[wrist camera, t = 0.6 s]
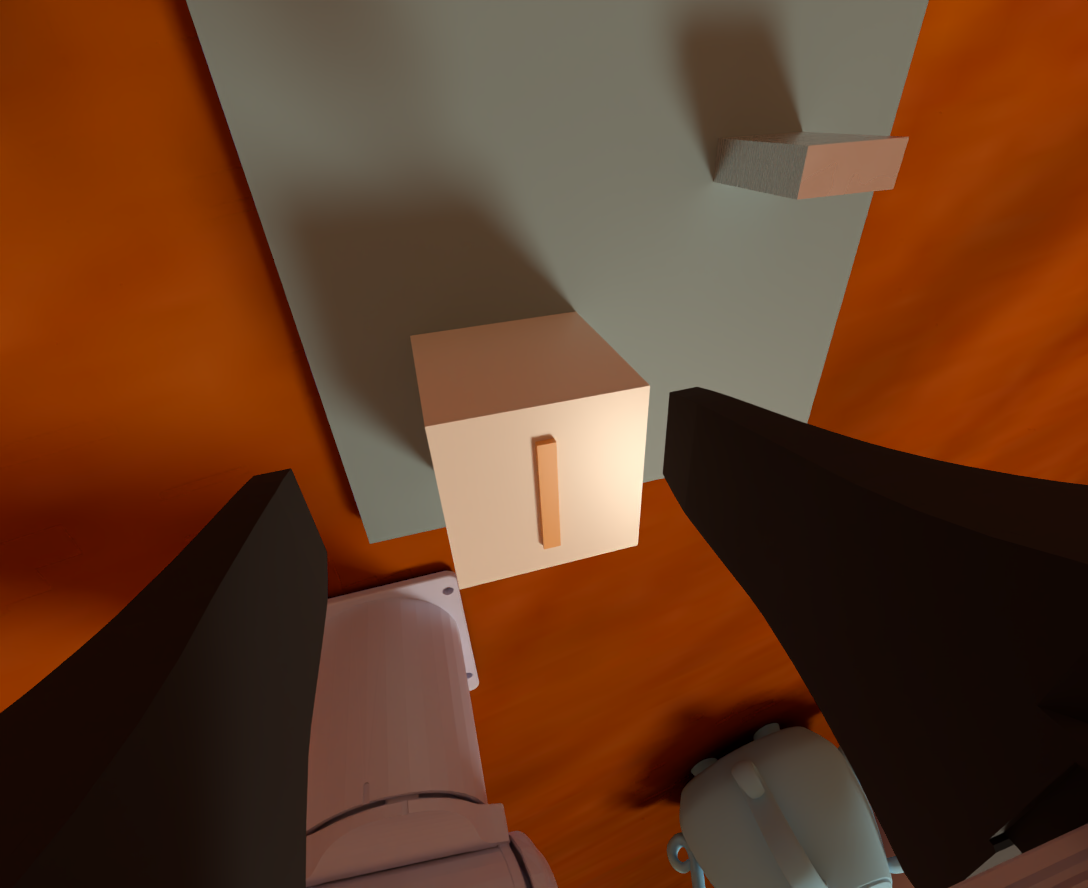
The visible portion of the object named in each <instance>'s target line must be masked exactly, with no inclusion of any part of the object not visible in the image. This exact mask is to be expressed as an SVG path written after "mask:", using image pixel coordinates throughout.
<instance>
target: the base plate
mask: <svg viewBox="0 0 1088 888" xmlns="http://www.w3.org/2000/svg"><path fill="white" fill-rule="evenodd" d="M928 1H929V0H186V2H187V5H188V8H189V11H190V14H191V17H192V20H193V23H194V26H195V28H196V31H197V34H198V37H199V40H200V43H201V46H202V49H203V52H204V55H205V58H206V61H207V64H208V67H209V70H210V73H211V76H212V79H213V82H214V85H215V88H216V90H217V93H218V96H219V99H220V102H221V105H222V108H223V111H224V114H225V117H226V120H227V123H228V126H229V129H230V132H231V135H232V138H233V141H234V144H235V147H236V150H237V152H238V155H239V158H240V161H241V164H242V167H243V170H244V173H245V176H246V179H247V182H248V185H249V188H250V191H251V194H252V197H253V200H254V203H255V206H256V209H257V212H258V214H259V217H260V220H261V223H262V226H263V229H264V232H265V235H266V238H267V241H268V244H269V247H270V250H271V253H272V256H273V259H274V262H275V265H276V268H277V271H278V274H279V276H280V279H281V282H282V285H283V288H284V291H285V294H286V297H287V300H288V303H289V306H290V309H291V312H292V315H293V318H294V321H295V324H296V327H297V330H298V333H299V336H300V338H301V341H302V344H303V347H304V350H305V353H306V356H307V359H308V362H309V365H310V368H311V371H312V374H313V377H314V380H315V383H316V386H317V389H318V392H319V395H320V398H321V400H322V403H323V406H324V409H325V412H326V415H327V418H328V421H329V424H330V427H331V430H332V433H333V436H334V439H335V442H336V445H337V448H338V451H339V454H340V457H341V460H342V462H343V465H344V468H345V471H346V474H347V477H348V480H349V483H350V486H351V489H352V492H353V495H354V498H355V501H356V504H357V507H358V510H359V513H360V516H361V519H362V522H363V524H364V527H365V530H366V533H367V536H368V539H369V542H370V544H371V543H375V542H380V541H384V540H389V539H393V538H398V537H402V536H407V535H411V534H416V533H420V532H425V531H429V530H434V529H438V528H442V527H446V523H445V519H444V514H443V509H442V505H441V500H440V495H439V491H438V486H437V481H436V477H435V472H434V467H433V463H432V458H431V453H430V449H429V444H428V440H427V435H426V430H425V425H424V419H423V413H422V407H421V400H420V394H419V388H418V382H417V376H416V369H415V363H414V357H413V351H412V345H411V338H410V336H412V335H419V334H426V333H432V332H439V331H446V330H453V329H460V328H466V327H473V326H480V325H487V324H494V323H500V322H507V321H514V320H521V319H528V318H534V317H541V316H548V315H555V314H562V313H569V312H575V311H576V312H577V313H578V314H579V315H580V316H581V317H582V318H583V319H584V320H585V321H586V322H587V323H588V324H589V325H590V326H591V327H592V328H593V329H594V330H595V331H596V332H597V333H598V334H599V335H600V336H601V337H602V338H603V339H604V340H605V341H606V342H607V343H608V344H609V345H610V346H611V347H612V348H613V349H614V350H615V351H616V352H617V353H618V354H619V355H620V356H621V357H622V358H623V359H624V360H625V361H626V362H627V363H628V364H629V365H630V366H631V367H632V368H633V369H634V370H635V371H636V372H637V373H638V374H639V375H640V376H641V377H642V378H643V379H644V380H645V381H646V382H647V383H648V384H649V385H650V393H649V406H648V419H647V432H646V445H645V458H644V471H643V483H644V482H648V481H653V480H657V479H662V478H665V477H664V475H663V463H664V451H665V439H666V428H667V416H668V404H669V393H670V392H673V391H678V390H683V389H688V388H693V387H700V388H704V389H708V390H712V391H715V392H718V393H722V394H725V395H728V396H731V397H733V398H736V399H739V400H742V401H745V402H748V403H750V404H753V405H756V406H759V407H762V408H764V409H767V410H770V411H773V412H775V413H778V414H781V415H784V416H787V417H790V418H792V419H795V420H798V421H801V422H804V423H807V422H808V418H809V415H810V411H811V408H812V404H813V401H814V397H815V394H816V390H817V387H818V383H819V380H820V377H821V373H822V370H823V366H824V363H825V359H826V356H827V352H828V349H829V345H830V342H831V338H832V335H833V331H834V328H835V324H836V321H837V317H838V314H839V310H840V307H841V303H842V300H843V296H844V293H845V290H846V286H847V283H848V279H849V276H850V272H851V269H852V265H853V262H854V258H855V255H856V251H857V248H858V244H859V241H860V237H861V234H862V230H863V227H864V223H865V220H866V216H867V213H868V209H869V206H870V203H871V199H872V196H873V192H874V191H871V192H862V193H853V194H844V195H835V196H826V197H817V198H808V199H799V200H796V199H791V198H787V197H782V196H777V195H773V194H768V193H763V192H758V191H754V190H749V189H744V188H740V187H735V186H730V185H725V184H721V183H716V182H713V180H714V172H715V164H716V156H717V148H718V140H719V138H729V137H741V136H754V135H766V134H779V133H791V132H821V133H840V134H860V135H880V136H890V133H891V129H892V126H893V122H894V119H895V116H896V112H897V109H898V105H899V102H900V98H901V95H902V91H903V88H904V84H905V81H906V77H907V74H908V70H909V67H910V63H911V60H912V56H913V53H914V49H915V46H916V42H917V39H918V35H919V32H920V29H921V25H922V22H923V18H924V15H925V11H926V8H927V4H928Z"/></svg>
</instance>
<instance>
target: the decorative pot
mask: <svg viewBox="0 0 1088 888" xmlns="http://www.w3.org/2000/svg"><path fill="white" fill-rule="evenodd" d="M753 739H754V741H752V742H750V743H748V744H746V745H744V746H742V747H740V748H738V749H736V750H734V751H733V752H731V753H729V754H727V755H726V756H724V757H722V758H721V759H719V760H717V759H716V758H708V759H705V760H703V761H701V762H699V763H697V764H696V765H695V766H694V767H693V768H692V769H691V773H692V774H693V775H694V776H695V777H694V778H693V779H692V780H691V781H690V782H688V783H687V785H686V786H685V787H684V788H683V790H682V792H681V801H680V825H681V830H682V832H681V833H677V834H675V835H674V836H673V837H672V838H671V839H670V841H669V843H668V845H667V856H668V859H669V861H670V863H671V865H672V867H673V868H674V869H675V870H676V871H678V872H680V873H686V872H689V871H690V870H691V877H692V885H693V888H705V882H704V874H703V872H704V873H705V875H706V877H707V878H708V879H709V881H710V882H711V884H712V885H713V886H714V888H892V878H891V874H890V873H895V874H896V873H904V872H903V870H902V868H901V866H900V864H899V862H898V859H897V857H896V856H894V857H890V858H887V857H886V853H885V850H884V846H883V843H882V840H881V836H880V833H879V829H878V826H877V824H876V821H875V818H874V815H873V812H872V809H871V807H870V805H869V802H868V800H867V798H866V795H865V793H864V791H863V789H862V787H861V784H860V782H859V781H858V779H857V777H856V775H855V773H854V771H853V769H852V767H851V765H850V763H849V761H848V760H847V758H846V756H845V754H844V752H843V750H842V749H841V747H840V746H839V748H838V749H837V748H836V747H835V746H834V745H833V744H832V743H831V742H829V741H828V740H826V739H825V738H823V737H821V736H820V735H818V734H816V733H814V732H813V731H810V730H808V729H806V728H805V727H801V726H795V727H789V728H785V729H782V730H780V727H779V724H778V723H771V724H768V725H766V726H764V727H762V728H760V729H759V730H758V731H757V732H756V733H755V734H754V736H753ZM681 847H685V849H686V850H687V853H688V856H689V859H688V860H686V861H685V862H680V861H679V860H678V858H677V854H678V851H679V849H680V848H681Z"/></svg>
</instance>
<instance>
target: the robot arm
mask: <svg viewBox="0 0 1088 888" xmlns="http://www.w3.org/2000/svg"><path fill="white" fill-rule="evenodd" d="M663 475H664V477H665V479H666V481H667V483H668V485H669V486H670V488H671V490H672V492H673V494H674V496H675V497H676V499H677V501H678V502H679V504H680V506H681V507H682V509H683V511H684V512H685V514H686V515H687V516H688V518H689V519H690V520H691V522H692V523H693V524H694V526H695V527H696V528H697V530H698V531H699V532H700V534H701V535H702V536H703V537H704V539H705V540H706V541H707V543H708V544H709V545H710V547H711V548H712V549H713V550H714V552H715V553H716V554H717V555H718V557H719V558H720V559H721V561H722V562H723V563H724V564H725V566H726V567H727V568H728V570H729V571H730V572H731V573H732V575H733V576H734V577H735V578H736V580H737V581H738V582H739V584H740V585H741V586H742V587H743V589H744V590H745V591H746V593H747V594H748V595H749V596H750V598H751V599H752V601H753V602H754V603H755V605H756V606H757V608H758V609H759V610H760V612H761V613H762V615H763V616H764V618H765V619H766V621H767V622H768V624H769V626H770V627H771V629H772V630H773V632H774V634H775V635H776V637H777V638H778V640H779V641H780V643H781V645H782V646H783V648H784V649H785V651H786V653H787V654H788V656H789V657H790V659H791V661H792V662H793V664H794V666H795V667H796V669H797V671H798V673H799V674H800V676H801V678H802V679H803V681H804V683H805V684H806V686H807V688H808V690H809V691H810V693H811V695H812V696H813V698H814V700H815V702H816V703H817V705H818V707H819V708H820V710H821V712H822V714H823V716H824V717H825V719H826V721H827V723H828V725H829V727H830V728H831V730H832V732H833V734H834V736H835V738H836V739H837V741H838V743H839V745H840V747H841V749H842V750H843V752H844V754H845V756H846V758H847V760H848V761H849V763H850V765H851V767H852V769H853V771H854V773H855V775H856V777H857V779H858V781H859V782H860V784H861V786H862V788H863V790H864V792H865V794H866V796H867V798H868V800H869V802H870V804H871V806H872V808H873V810H874V812H875V814H876V816H877V818H878V820H879V822H880V824H881V826H882V828H883V830H884V832H885V834H886V836H887V838H888V840H889V842H890V845H891V846H892V849H893V851H894V853H895V855H896V857H897V859H898V862H899V864H900V866H901V868H902V870H903V872H904V873H905V875H906V876H907V877H908V879H909V880H910V882H911V883H912V885H913V886H914V887H915V888H1088V485H1082V484H1074V483H1066V482H1058V481H1051V480H1045V479H1038V478H1031V477H1025V476H1018V475H1012V474H1007V473H1001V472H996V471H990V470H985V469H979V468H974V467H968V466H963V465H958V464H953V463H949V462H944V461H939V460H934V459H930V458H926V457H922V456H918V455H914V454H910V453H906V452H901V451H897V450H893V449H889V448H885V447H882V446H878V445H874V444H871V443H867V442H864V441H860V440H857V439H854V438H851V437H847V436H844V435H841V434H838V433H834V432H831V431H828V430H825V429H822V428H819V427H816V426H813V425H810V424H807V423H804V422H801V421H798V420H795V419H792V418H790V417H787V416H784V415H781V414H778V413H775V412H773V411H770V410H767V409H764V408H762V407H759V406H756V405H753V404H750V403H748V402H745V401H742V400H739V399H736V398H733V397H731V396H728V395H725V394H722V393H718V392H715V391H712V390H708V389H704V388H700V387H693V388H688V389H683V390H678V391H673V392H670V393H669V404H668V416H667V428H666V439H665V451H664V463H663ZM447 587H450V588H447ZM445 588H447V589H445ZM478 685H479V680H478V675H477V670H476V666H475V661H474V656H473V652H472V647H471V643H470V638H469V633H468V629H467V624H466V619H465V615H464V610H463V605H462V601H461V596H460V592H459V587H458V582H457V578H456V575H455V573H454V572H452V571H442V572H438V573H434V574H429V575H425V576H421V577H417V578H413V579H409V580H405V581H400V582H396V583H392V584H388V585H384V586H380V587H375V588H371V589H367V590H363V591H359V592H355V593H351V594H346V595H342V596H338V597H334V598H330V599H328V573H327V551H326V549H325V546H324V544H323V542H322V539H321V537H320V535H319V532H318V530H317V528H316V525H315V523H314V521H313V518H312V516H311V514H310V511H309V509H308V507H307V504H306V502H305V500H304V497H303V495H302V493H301V490H300V488H299V486H298V483H297V481H296V479H295V476H294V474H293V472H292V469H286V470H281V471H276V472H271V473H266V474H261V475H256V476H253V477H252V478H251V479H250V480H249V481H248V482H247V483H246V484H245V485H244V486H243V487H242V488H241V489H240V490H239V491H238V492H237V493H236V494H235V495H234V496H233V497H232V498H231V499H230V500H229V501H228V503H227V504H226V505H225V506H224V507H223V508H222V509H221V510H220V511H219V512H218V513H217V514H216V515H215V517H214V518H213V519H212V520H211V521H210V522H209V523H208V524H207V525H206V526H205V527H204V528H203V529H202V530H201V531H200V533H199V534H198V535H197V536H196V537H195V538H194V539H193V540H192V541H191V542H190V543H189V544H188V545H187V546H186V547H185V548H184V549H183V550H182V552H181V553H180V554H179V555H178V556H177V557H176V558H175V559H174V560H173V561H172V562H171V563H170V564H169V565H168V566H167V567H166V568H165V569H164V570H163V571H162V572H161V573H160V574H159V575H158V576H157V577H156V578H155V579H154V580H153V581H152V582H150V583H149V584H148V585H147V586H146V587H145V588H144V589H143V590H142V591H141V592H140V593H139V594H138V595H137V596H136V597H135V598H134V599H133V600H132V601H131V602H130V603H129V604H128V605H127V606H126V607H125V608H124V609H123V610H122V611H121V612H120V613H119V614H118V615H117V616H115V617H114V618H113V619H112V620H111V621H110V622H109V623H108V624H107V625H106V626H105V627H103V628H102V629H101V630H100V631H99V632H98V633H97V634H96V635H94V636H93V637H92V638H91V639H90V640H89V641H88V642H87V643H85V644H84V645H83V646H82V647H81V648H80V649H79V650H77V651H76V652H75V653H74V654H73V655H71V656H70V657H69V658H68V659H67V660H65V661H64V662H63V663H62V664H61V665H60V666H58V667H57V668H56V669H55V670H54V671H52V672H51V673H50V674H49V675H48V676H46V677H45V678H44V679H43V680H42V681H41V682H39V683H38V684H37V685H36V686H34V687H33V688H32V689H31V690H29V691H28V692H27V693H26V694H25V695H23V696H22V697H21V698H20V699H18V700H17V701H16V702H14V703H13V704H12V705H10V706H9V707H8V708H6V709H5V710H4V711H3V712H1V713H0V888H558V886H557V884H556V881H555V878H554V876H553V873H552V871H551V869H550V867H549V865H548V863H547V861H546V859H545V858H544V856H543V855H542V854H541V852H540V851H539V850H538V849H537V848H536V847H535V846H534V844H533V843H532V841H531V840H530V839H529V838H528V837H527V836H526V835H525V834H524V833H522V832H520V831H514V832H509V833H508V829H507V823H506V818H505V813H504V807H503V804H502V803H496V804H488V802H487V796H486V790H485V784H484V778H483V772H482V766H481V760H480V753H479V747H478V741H477V735H476V729H475V723H474V717H473V711H472V705H471V699H470V693H469V691H471V690H473V689H475V688H476V687H477V686H478Z"/></svg>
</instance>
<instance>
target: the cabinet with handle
mask: <svg viewBox="0 0 1088 888" xmlns="http://www.w3.org/2000/svg"><path fill="white" fill-rule="evenodd" d="M410 338H411V345H412V351H413V357H414V363H415V369H416V376H417V382H418V388H419V394H420V400H421V407H422V413H423V419H424V425H425V430H426V435H427V440H428V444H429V449H430V453H431V458H432V463H433V467H434V472H435V477H436V481H437V486H438V491H439V495H440V500H441V505H442V509H443V514H444V519H445V523H446V528H447V533H448V537H449V542H450V547H451V551H452V556H453V561H454V565H455V570H456V575H457V579H458V584H459V589H463V588H467V587H471V586H476V585H480V584H484V583H488V582H492V581H496V580H500V579H504V578H508V577H512V576H516V575H520V574H524V573H528V572H532V571H536V570H540V569H544V568H548V567H552V566H556V565H560V564H564V563H568V562H572V561H576V560H580V559H584V558H588V557H592V556H596V555H600V554H604V553H608V552H612V551H616V550H620V549H624V548H628V547H632V546H636V545H638V535H639V522H640V509H641V496H642V483H643V471H644V458H645V445H646V432H647V419H648V406H649V393H650V385H649V384H648V383H647V382H646V381H645V380H644V379H643V378H642V377H641V376H640V375H639V374H638V373H637V372H636V371H635V370H634V369H633V368H632V367H631V366H630V365H629V364H628V363H627V362H626V361H625V360H624V359H623V358H622V357H621V356H620V355H619V354H618V353H617V352H616V351H615V350H614V349H613V348H612V347H611V346H610V345H609V344H608V343H607V342H606V341H605V340H604V339H603V338H602V337H601V336H600V335H599V334H598V333H597V332H596V331H595V330H594V329H593V328H592V327H591V326H590V325H589V324H588V323H587V322H586V321H585V320H584V319H583V318H582V317H581V316H580V315H579V314H578V313H577V312H576V311H575V312H569V313H562V314H555V315H548V316H541V317H534V318H528V319H521V320H514V321H507V322H500V323H494V324H487V325H480V326H473V327H466V328H460V329H453V330H446V331H439V332H432V333H426V334H419V335H412V336H410Z"/></svg>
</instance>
